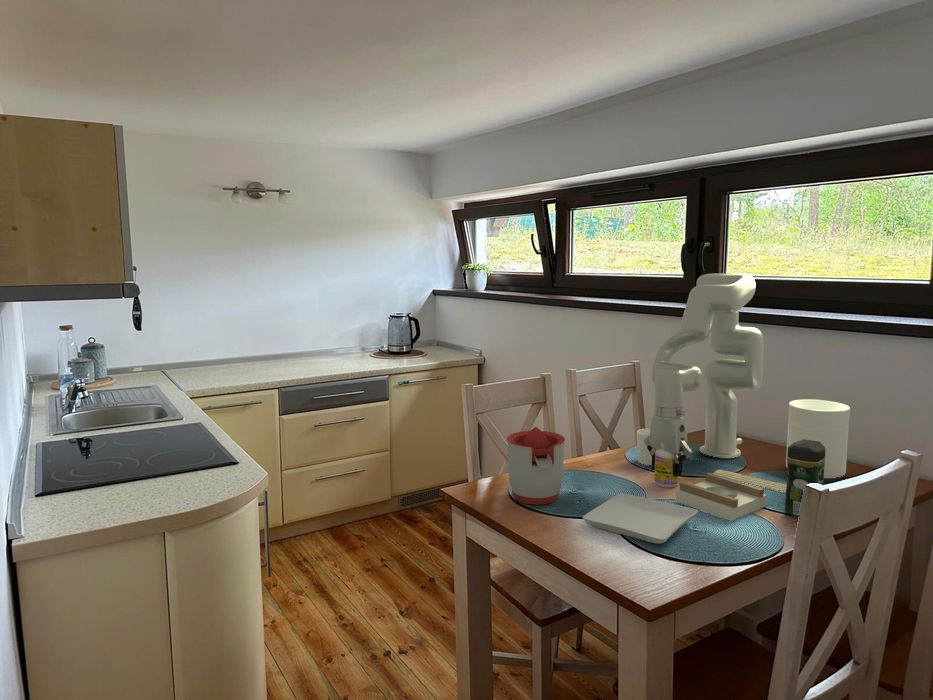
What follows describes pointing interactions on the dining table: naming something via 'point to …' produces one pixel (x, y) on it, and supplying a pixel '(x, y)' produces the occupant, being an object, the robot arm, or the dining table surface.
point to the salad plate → (639, 517)
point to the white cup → (643, 447)
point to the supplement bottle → (664, 469)
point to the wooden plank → (751, 480)
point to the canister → (821, 430)
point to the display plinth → (722, 497)
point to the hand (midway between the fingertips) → (666, 471)
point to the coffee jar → (802, 471)
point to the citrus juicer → (536, 465)
